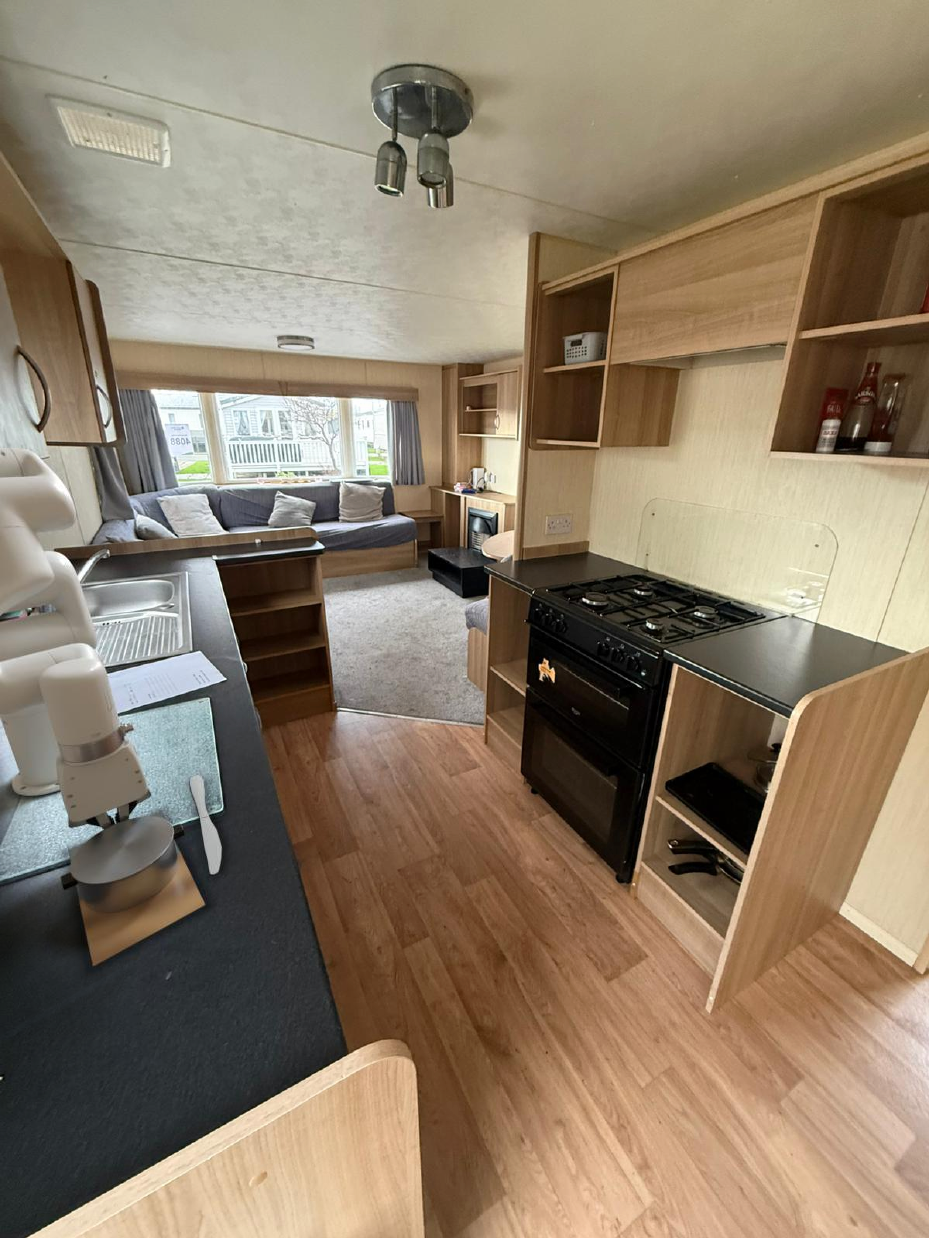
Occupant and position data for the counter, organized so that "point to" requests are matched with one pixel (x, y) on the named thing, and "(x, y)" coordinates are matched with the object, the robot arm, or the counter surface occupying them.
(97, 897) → the pot
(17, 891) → the counter surface
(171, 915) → the trivet
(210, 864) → the butter knife
